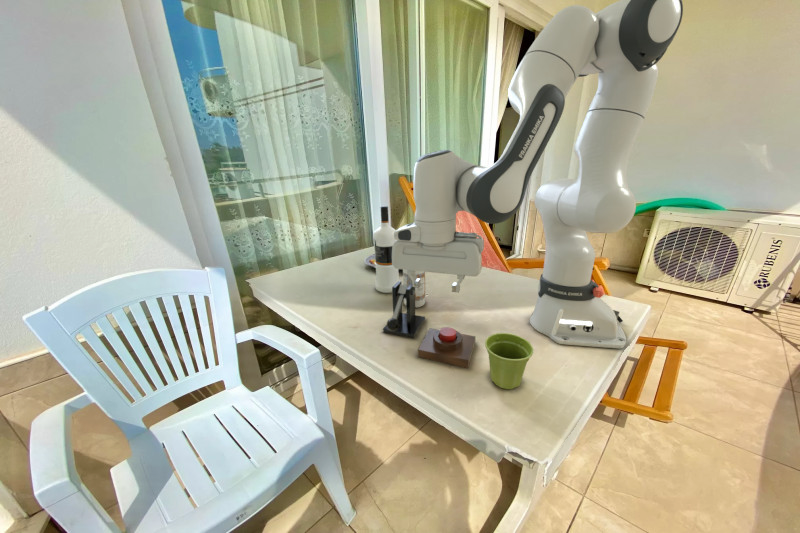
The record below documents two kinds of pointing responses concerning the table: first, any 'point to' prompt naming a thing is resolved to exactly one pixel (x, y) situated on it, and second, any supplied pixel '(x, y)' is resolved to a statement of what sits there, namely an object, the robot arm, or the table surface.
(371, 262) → the food plate
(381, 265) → the vodka
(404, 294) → the lever
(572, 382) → the table surface
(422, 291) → the bath foam
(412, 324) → the tap bracket
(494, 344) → the plant pot
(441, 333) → the button
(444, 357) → the button block
